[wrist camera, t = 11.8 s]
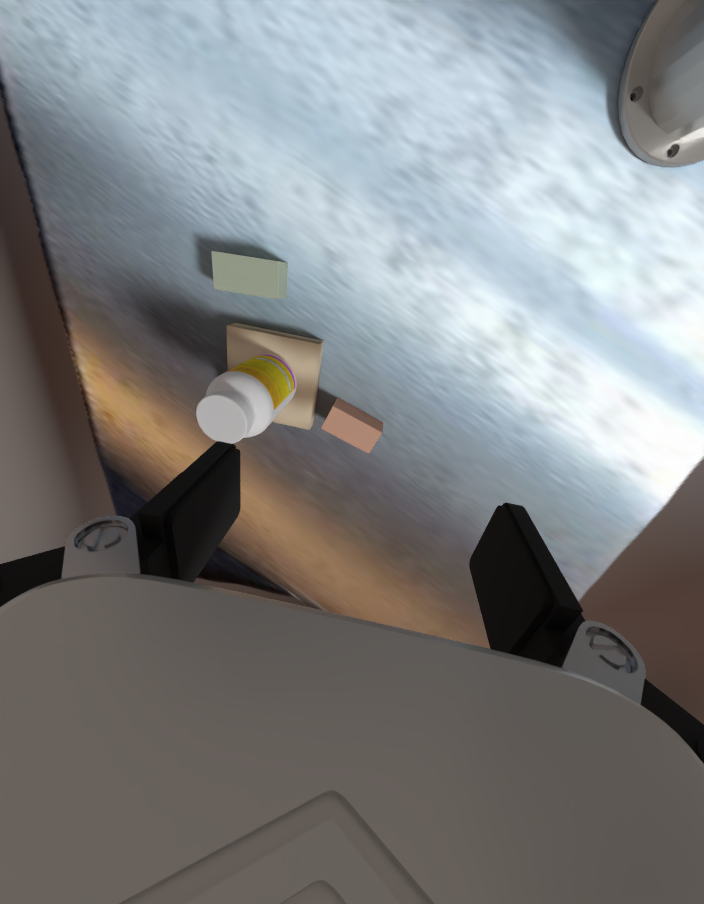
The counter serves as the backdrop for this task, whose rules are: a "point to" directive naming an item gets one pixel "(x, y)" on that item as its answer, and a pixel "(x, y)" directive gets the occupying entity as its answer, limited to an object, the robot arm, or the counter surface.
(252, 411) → the supplement bottle
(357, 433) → the terracotta brick
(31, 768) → the robot arm
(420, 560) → the counter surface
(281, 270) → the sage brick
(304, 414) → the maple slab
